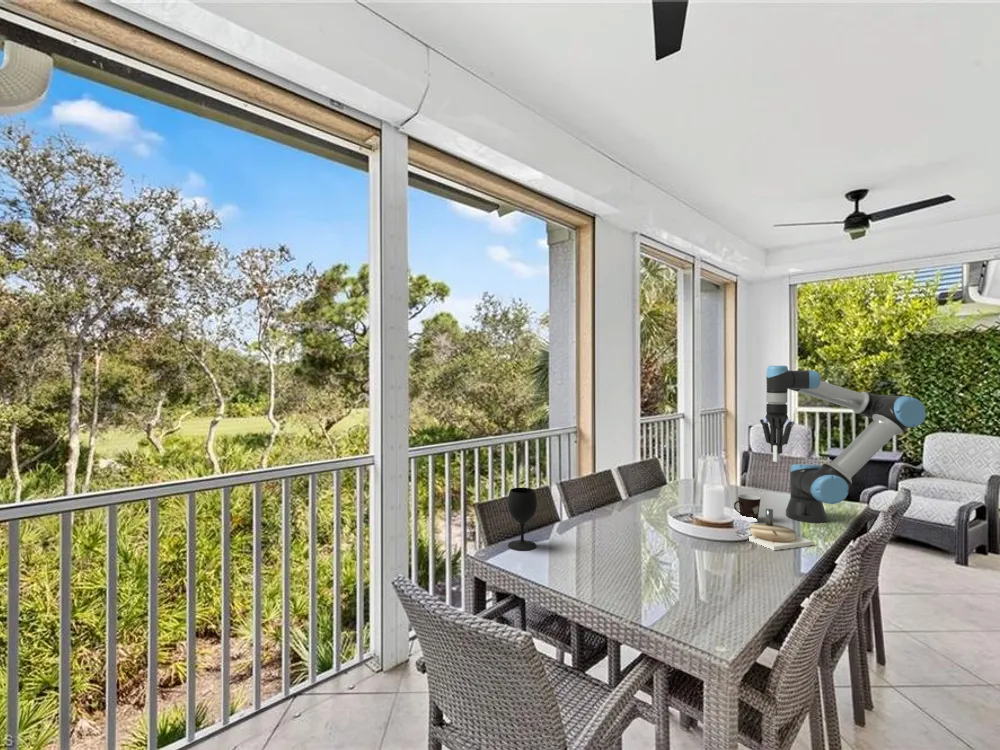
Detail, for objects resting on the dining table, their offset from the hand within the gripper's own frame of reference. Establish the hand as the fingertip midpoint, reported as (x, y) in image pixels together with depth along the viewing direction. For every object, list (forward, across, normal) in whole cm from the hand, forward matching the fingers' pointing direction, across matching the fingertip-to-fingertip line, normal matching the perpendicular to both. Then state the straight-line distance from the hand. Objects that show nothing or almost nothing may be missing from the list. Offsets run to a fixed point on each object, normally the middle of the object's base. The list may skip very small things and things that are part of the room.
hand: (776, 461), depth 203 cm
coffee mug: (+27, +11, +3) cm, 29 cm away
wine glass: (+27, +37, +101) cm, 111 cm away
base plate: (+26, -8, +19) cm, 33 cm away
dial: (+25, -8, +19) cm, 32 cm away
